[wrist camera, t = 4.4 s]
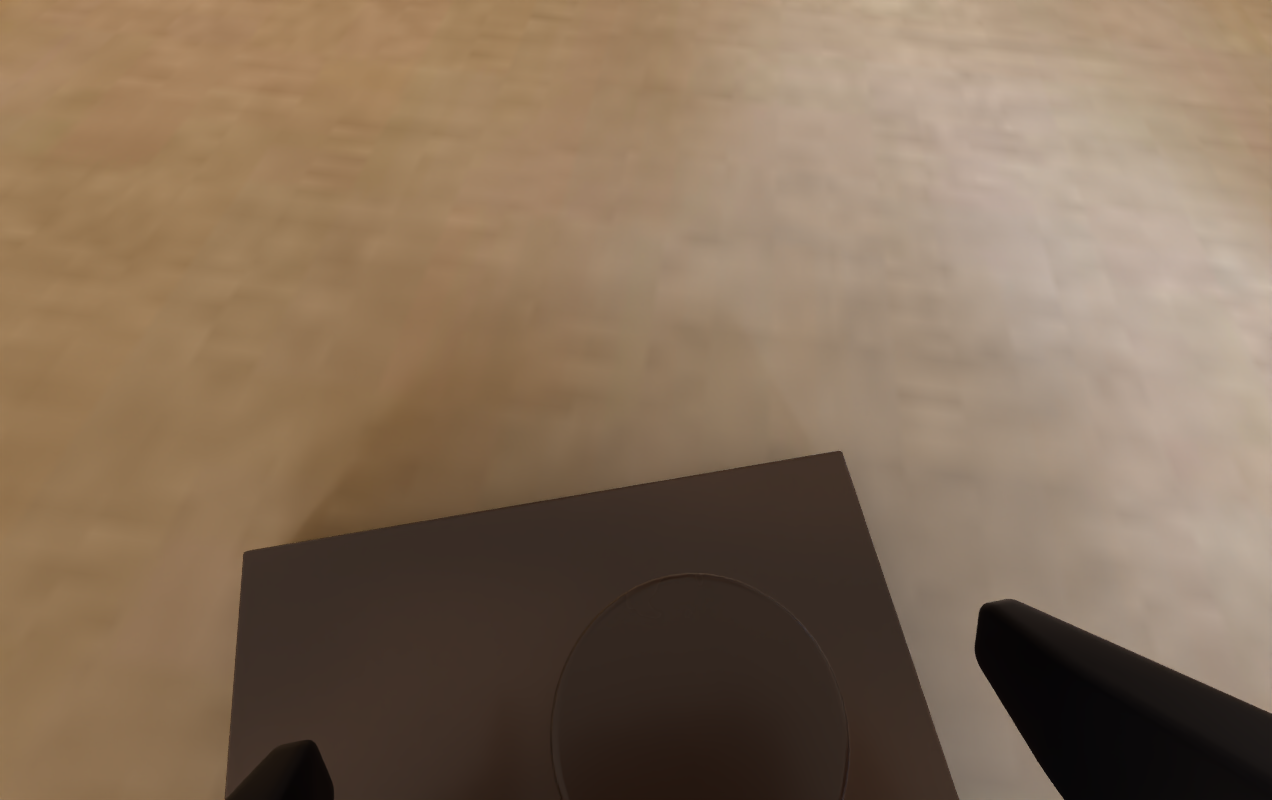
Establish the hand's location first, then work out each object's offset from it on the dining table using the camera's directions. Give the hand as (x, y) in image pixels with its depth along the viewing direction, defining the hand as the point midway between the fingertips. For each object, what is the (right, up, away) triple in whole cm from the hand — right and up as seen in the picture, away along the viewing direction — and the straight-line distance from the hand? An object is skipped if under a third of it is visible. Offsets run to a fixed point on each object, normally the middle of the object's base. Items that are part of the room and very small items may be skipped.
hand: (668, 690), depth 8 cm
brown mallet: (0, -5, +5) cm, 7 cm away
